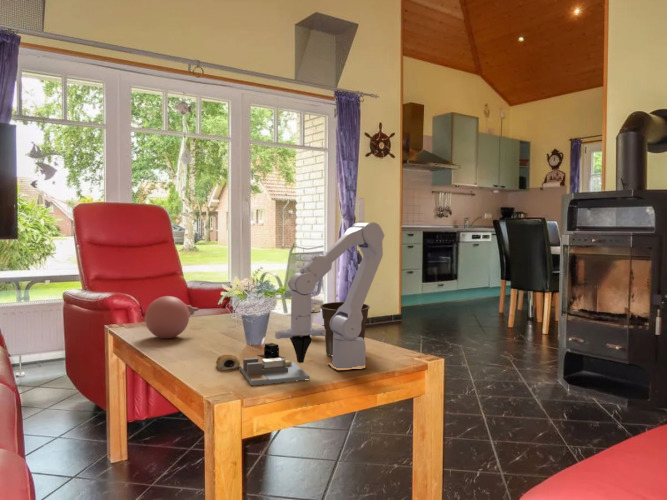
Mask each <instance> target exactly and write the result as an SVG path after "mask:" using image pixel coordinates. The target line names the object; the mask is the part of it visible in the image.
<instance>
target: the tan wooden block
mask: <svg viewBox="0 0 667 500" xmlns="http://www.w3.org/2000/svg"><path fill="white" fill-rule="evenodd" d="M284 358H285V357H284ZM284 358H271V359H265V358H262V359H261V362H262V369H271V368H282V367H285V360H286V359H284Z"/></svg>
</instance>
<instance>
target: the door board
mask: <svg viewBox="0 0 667 500" xmlns="http://www.w3.org/2000/svg"><path fill="white" fill-rule="evenodd" d="M242 360H243V362H242V364H240V366H239V371H240V372H241V373H242V374H244V375H243V376H244V377H245V379H246V380H247V381H249V382H248V383H249V385H250V386H251V385H254V386H263V385H262V384H264V385H273V383H275V384H282V383H281V382H285V383H290V382H289V381H296V380H305V379H309V380H310V374H308V373H307V372H306V371H305V370H303V368H301V367H300V366H299V365H298V364H297V363H296V362H294V361H292V360H287V359H285V367H282V368H271V369H262V361H259V358H258V357H249V358H243V359H242ZM296 382H297V381H296Z"/></svg>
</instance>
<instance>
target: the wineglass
mask: <svg viewBox="0 0 667 500" xmlns="http://www.w3.org/2000/svg"><path fill="white" fill-rule="evenodd" d="M320 306H321V303H319V302H311V328H313V319H315V318H316V317H317V316H319V314H320V313H321V311H322V309H321V308H320Z"/></svg>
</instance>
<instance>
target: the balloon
mask: <svg viewBox="0 0 667 500" xmlns="http://www.w3.org/2000/svg"><path fill="white" fill-rule="evenodd" d="M198 311H199V307H193V305H191V304H186V303H184V301H182V300H181V299H180V298H179V297H176V296H172V295H171V296H170V295H165V296H160V297H158V298H156V299H154V300H153V301H152V302H151V303H149V305H148V307H147V309H146V311H145V315H144V321H145V326H146V328H147V329H148V331H149V332H150V334H152V335H153V336H155V337H156V338H157V337H158V338H161V339H172V338H175V337H178V336H179V335H181V334H182V333H184V332H185V330H186V328H187V326H188V324H189V322H190V317H191V316H193V315H194V314H195V312H198Z"/></svg>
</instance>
